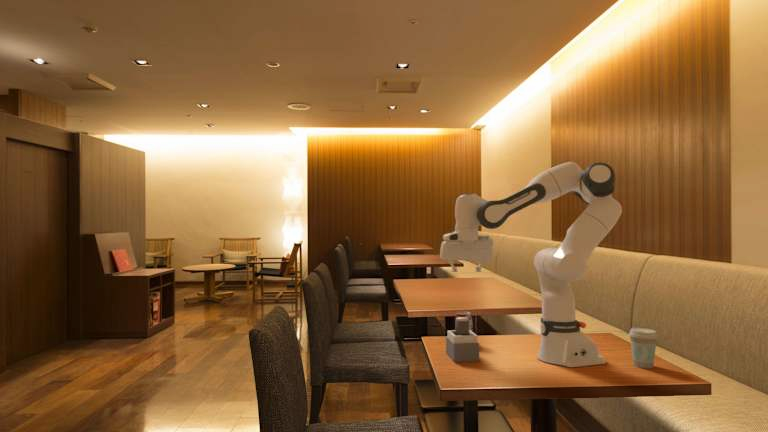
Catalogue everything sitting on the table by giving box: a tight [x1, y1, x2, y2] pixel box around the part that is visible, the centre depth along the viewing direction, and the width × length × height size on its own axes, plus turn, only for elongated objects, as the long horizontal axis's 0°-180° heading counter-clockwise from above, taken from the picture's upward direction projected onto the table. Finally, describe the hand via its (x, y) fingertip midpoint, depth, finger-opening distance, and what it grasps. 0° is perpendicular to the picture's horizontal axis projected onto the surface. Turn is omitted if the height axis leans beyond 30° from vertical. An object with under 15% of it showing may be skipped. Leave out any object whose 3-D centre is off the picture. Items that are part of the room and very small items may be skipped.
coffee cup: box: [628, 327, 659, 369], centre depth 158 cm, size 9×8×12 cm
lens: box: [454, 317, 470, 336], centre depth 168 cm, size 5×5×8 cm
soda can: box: [454, 310, 474, 332], centre depth 187 cm, size 7×7×12 cm
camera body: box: [445, 329, 480, 363], centre depth 168 cm, size 9×11×8 cm
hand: (466, 271), depth 180 cm, fingers open, 8 cm apart
